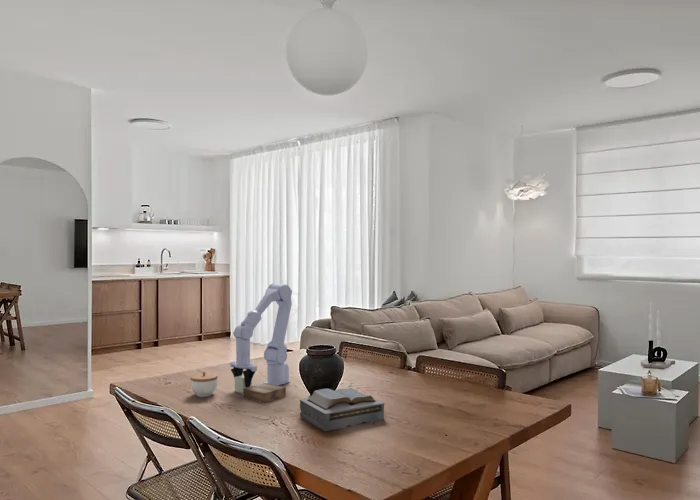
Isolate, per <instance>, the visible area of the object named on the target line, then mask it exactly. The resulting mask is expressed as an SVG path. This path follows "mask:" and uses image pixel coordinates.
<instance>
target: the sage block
mask: <svg viewBox="0 0 700 500" xmlns="http://www.w3.org/2000/svg"><path fill="white" fill-rule="evenodd" d="M252 386H253V381H251V385H250V387H252ZM244 388H246V387H245V379H244V375H243V374H242V375H240V376H236V377H235V378H234V392H236V393H241V394H243V389H244ZM247 388H248V387H247Z"/></svg>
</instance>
